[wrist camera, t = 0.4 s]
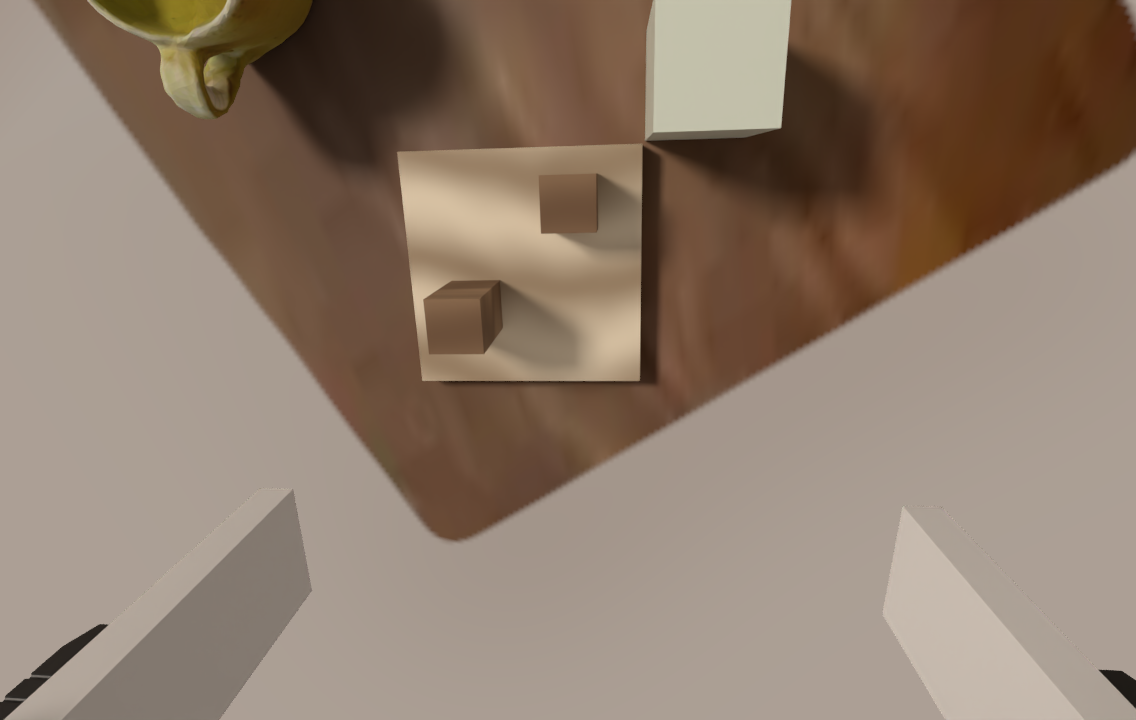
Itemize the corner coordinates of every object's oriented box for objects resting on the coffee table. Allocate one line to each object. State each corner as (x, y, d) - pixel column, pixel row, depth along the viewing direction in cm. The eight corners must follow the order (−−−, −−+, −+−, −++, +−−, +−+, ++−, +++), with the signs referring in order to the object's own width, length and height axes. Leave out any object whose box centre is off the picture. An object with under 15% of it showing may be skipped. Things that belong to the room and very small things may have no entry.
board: (404, 152, 35) (376, 149, 31) (641, 144, 33) (645, 140, 29) (428, 374, 39) (406, 397, 35) (639, 374, 38) (641, 398, 34)
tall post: (451, 280, 36) (423, 299, 30) (499, 280, 35) (479, 298, 30) (455, 328, 36) (428, 354, 31) (502, 328, 36) (484, 354, 31)
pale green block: (646, 31, 32) (655, -11, 24) (751, 25, 31) (792, -18, 24) (645, 141, 33) (653, 132, 26) (744, 137, 33) (781, 128, 26)
